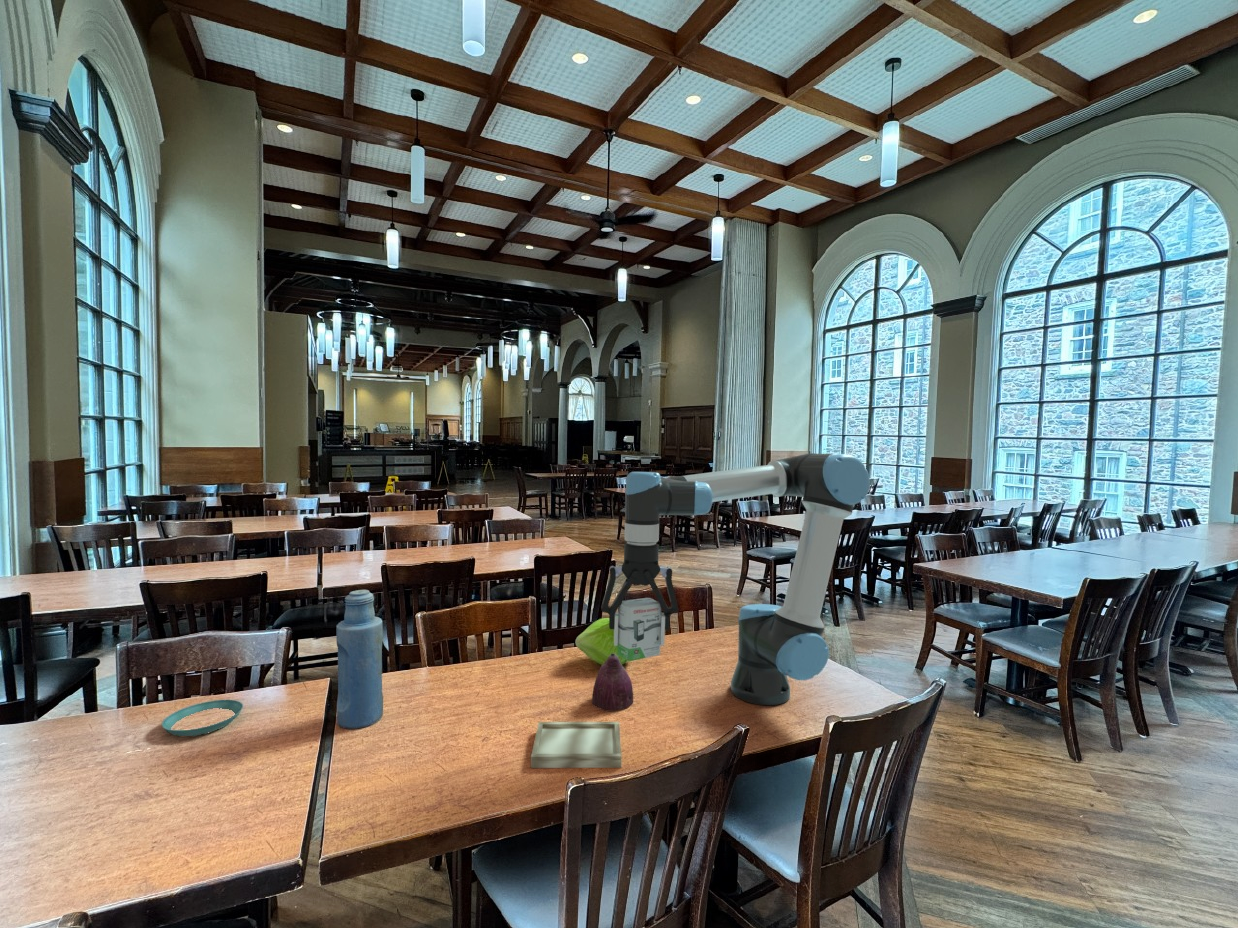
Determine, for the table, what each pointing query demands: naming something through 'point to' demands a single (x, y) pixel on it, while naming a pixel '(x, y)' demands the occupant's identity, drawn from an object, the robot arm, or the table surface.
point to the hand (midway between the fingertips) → (638, 643)
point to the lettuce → (598, 642)
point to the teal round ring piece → (187, 711)
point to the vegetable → (612, 686)
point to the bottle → (359, 663)
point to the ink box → (639, 629)
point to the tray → (577, 745)
